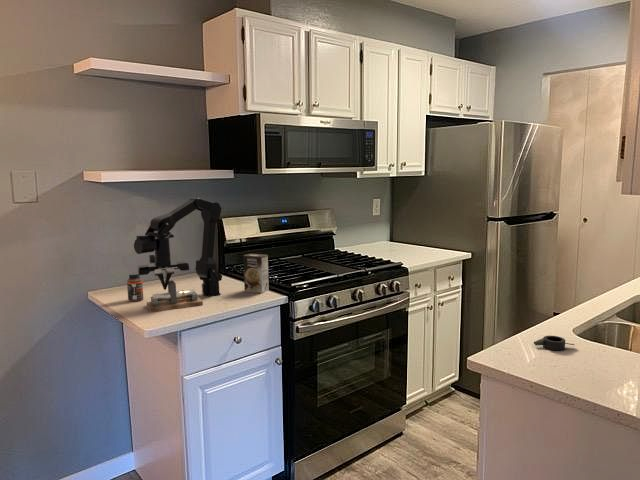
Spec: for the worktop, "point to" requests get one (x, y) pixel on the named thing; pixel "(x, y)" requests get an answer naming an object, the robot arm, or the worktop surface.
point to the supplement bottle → (135, 287)
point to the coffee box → (256, 273)
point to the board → (174, 304)
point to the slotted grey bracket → (172, 291)
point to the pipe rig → (179, 295)
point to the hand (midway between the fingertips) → (164, 289)
